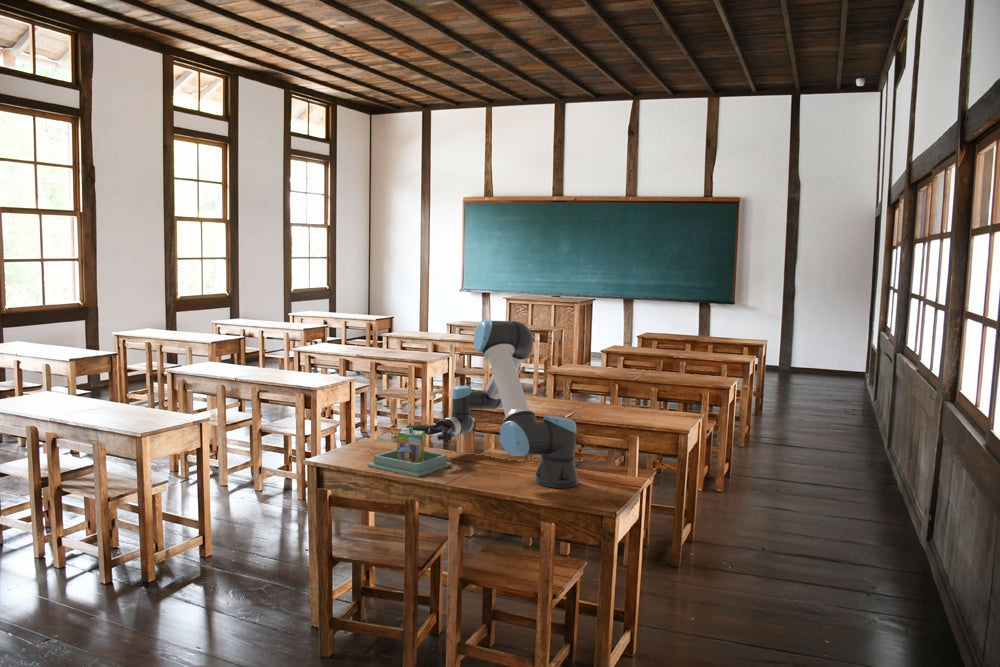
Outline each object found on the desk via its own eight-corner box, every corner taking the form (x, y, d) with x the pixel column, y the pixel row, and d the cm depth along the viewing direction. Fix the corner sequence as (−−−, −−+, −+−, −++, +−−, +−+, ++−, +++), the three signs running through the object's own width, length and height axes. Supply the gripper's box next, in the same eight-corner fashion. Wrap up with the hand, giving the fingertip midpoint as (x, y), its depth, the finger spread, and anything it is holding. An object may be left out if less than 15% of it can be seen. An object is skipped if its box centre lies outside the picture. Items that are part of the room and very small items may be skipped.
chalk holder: (451, 465, 279) (452, 454, 279) (417, 477, 260) (417, 465, 260) (403, 456, 290) (404, 445, 289) (367, 466, 270) (367, 455, 270)
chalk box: (421, 467, 270) (423, 426, 269) (395, 465, 270) (397, 424, 270) (424, 461, 279) (426, 421, 279) (399, 459, 280) (401, 420, 279)
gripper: (474, 442, 290) (444, 451, 272) (420, 432, 302) (388, 441, 283) (475, 422, 290) (445, 430, 271) (421, 414, 302) (389, 421, 283)
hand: (416, 436), depth 277 cm, fingers open, 13 cm apart
